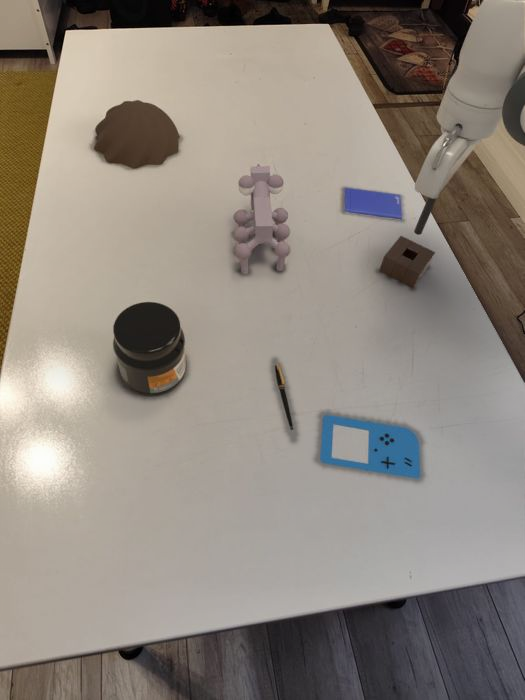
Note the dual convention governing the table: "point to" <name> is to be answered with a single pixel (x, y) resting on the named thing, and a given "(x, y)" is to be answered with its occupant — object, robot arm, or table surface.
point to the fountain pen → (283, 394)
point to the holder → (406, 261)
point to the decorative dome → (136, 135)
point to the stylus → (424, 215)
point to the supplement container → (149, 348)
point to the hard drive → (373, 203)
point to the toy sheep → (261, 217)
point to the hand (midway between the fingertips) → (436, 191)
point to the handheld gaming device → (376, 447)
